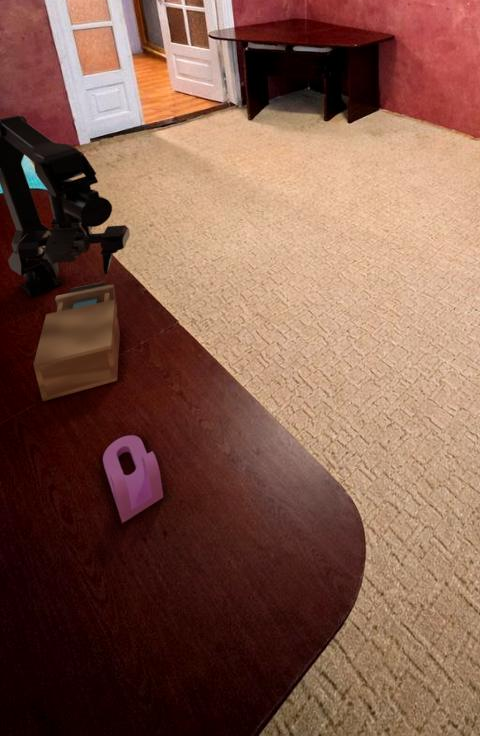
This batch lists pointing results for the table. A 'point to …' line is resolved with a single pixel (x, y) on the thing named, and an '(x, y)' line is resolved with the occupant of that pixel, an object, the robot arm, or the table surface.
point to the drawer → (86, 295)
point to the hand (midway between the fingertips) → (82, 275)
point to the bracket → (132, 477)
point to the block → (85, 303)
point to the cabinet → (78, 350)
